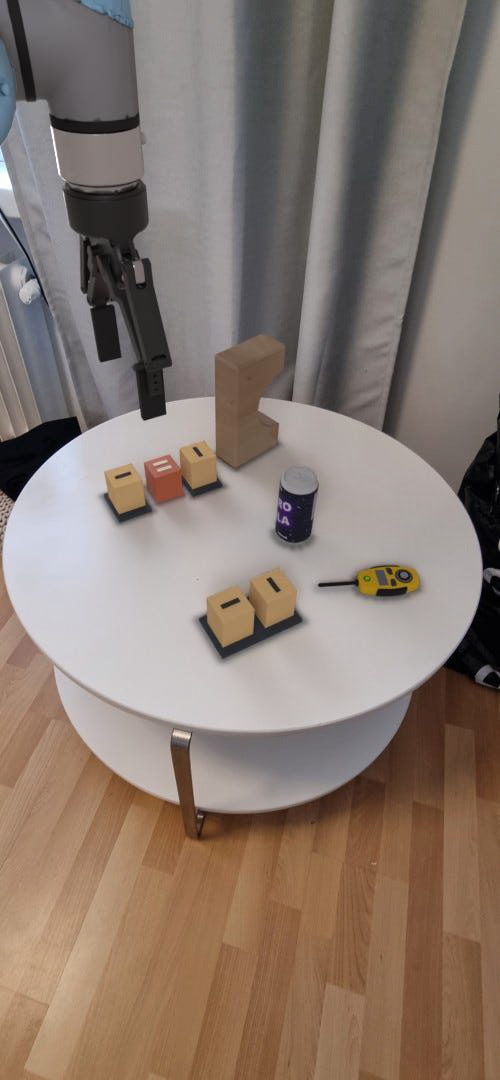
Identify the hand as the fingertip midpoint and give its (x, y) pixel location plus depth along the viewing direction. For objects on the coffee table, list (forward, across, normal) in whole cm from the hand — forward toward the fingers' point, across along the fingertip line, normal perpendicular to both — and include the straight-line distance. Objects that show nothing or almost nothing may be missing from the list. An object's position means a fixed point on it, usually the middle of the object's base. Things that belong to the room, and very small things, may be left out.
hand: (130, 386), depth 68 cm
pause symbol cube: (+29, +12, -7) cm, 32 cm away
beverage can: (+29, -7, -21) cm, 36 cm away
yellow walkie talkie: (+29, -21, -25) cm, 44 cm away
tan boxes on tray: (+29, -18, -7) cm, 35 cm away
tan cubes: (+29, +12, -7) cm, 32 cm away
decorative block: (+29, +15, -25) cm, 41 cm away
